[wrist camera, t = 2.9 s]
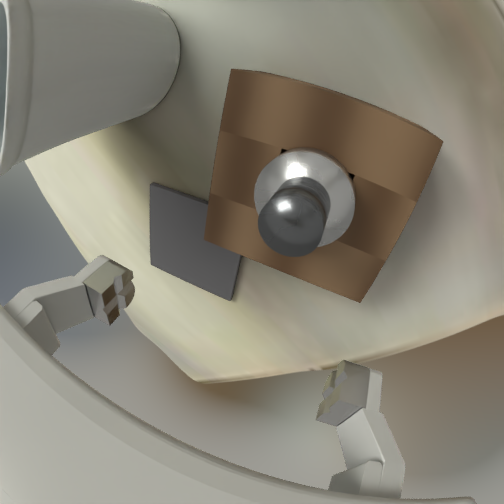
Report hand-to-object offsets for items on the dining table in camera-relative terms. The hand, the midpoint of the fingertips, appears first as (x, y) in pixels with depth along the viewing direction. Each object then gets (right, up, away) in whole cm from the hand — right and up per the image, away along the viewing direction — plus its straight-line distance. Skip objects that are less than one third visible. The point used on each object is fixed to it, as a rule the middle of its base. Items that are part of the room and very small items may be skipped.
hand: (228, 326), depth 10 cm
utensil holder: (-12, +23, +13) cm, 29 cm away
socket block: (+7, +10, +14) cm, 18 cm away
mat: (-6, +4, +23) cm, 24 cm away
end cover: (+6, +9, +12) cm, 16 cm away
